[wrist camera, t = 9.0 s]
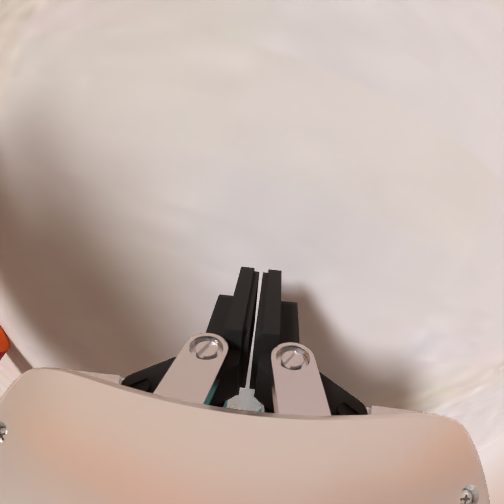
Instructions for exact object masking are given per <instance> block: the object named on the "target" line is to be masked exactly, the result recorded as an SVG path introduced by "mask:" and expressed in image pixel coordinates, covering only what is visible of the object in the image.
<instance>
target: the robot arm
mask: <svg viewBox="0 0 504 504" xmlns="http://www.w3.org/2000/svg"><path fill="white" fill-rule="evenodd" d="M258 280H259V272H255V271H254V268H249V267H241V270H240V274H239V278H238V281H237V285H236V289H235V292H234V296H228V295H219V297H218V299H217V302H216V305H215V308H214V311H213V314H212V316H211V319H210V322H209V325H208V328H207V331H206V333H200V334H197V335H194V336H192V337H191V338H189V339H188V341H187V342H186V343H185V345H184V346H183V348H182V349H181V351H180V352H179V354H178V356H176V357H174V358H171V359H169V360H167V361H164V362H162V363H159V364H157V365H154V366H151V367H149V368H146V369H144V370H141V371H139V372H136V373H133V374H131V375H129V376H127V377H126V378H121V376H120V375H113V374H103V373H95V372H87V371H79V370H68V369H61V368H47V367H41V368H34V369H30V370H28V371H26V372H24V373H23V374H21V375H20V376H19V377H18V378H17V379H16V380H15V381H14V382H13V383H12V384H11V385H10V387H9V388H8V389H7V390H6V391H5V393H4V394H3V395H2V397H1V398H0V504H490V500H489V495H488V490H487V484H486V480H485V476H484V472H483V469H482V465H481V462H480V459H479V456H478V453H477V450H476V448H475V445H474V443H473V441H472V439H471V437H470V435H469V433H468V432H467V430H466V429H465V427H464V426H463V425H462V424H461V423H459V422H458V421H456V420H454V419H451V418H448V417H445V416H440V415H436V414H428V413H422V412H420V411H416V410H406V409H397V408H389V407H382V406H375V405H372V406H371V407H370V408H368V407H365V406H364V405H363V404H362V403H361V402H360V401H359V400H358V399H356V398H355V397H353V396H352V395H350V394H349V393H348V392H346V391H345V390H343V389H342V388H341V387H339V386H338V385H337V384H335V383H334V382H332V381H331V380H330V379H328V378H327V377H326V376H324V375H323V374H322V373H320V372H319V371H318V367H317V364H316V360H315V357H314V355H313V353H312V351H311V350H310V349H309V348H307V347H306V346H304V345H302V344H299V327H298V309H297V303H295V302H284V301H281V271H278V270H269V271H268V273H264V272H263V278H262V285H261V293H260V301H259V308H258V316H257V323H256V331H255V340H254V350H253V360H252V369H251V379H250V389H255V394H254V397H255V398H256V399H257V400H258V401H259V402H261V403H262V404H263V405H262V412H255V411H246V410H238V409H230V408H226V406H227V402H228V399H230V398H232V397H234V396H235V395H239V389H240V387H242V388H245V385H246V378H247V372H248V365H249V358H250V352H251V345H252V338H253V331H254V323H255V313H256V302H257V291H258Z"/></svg>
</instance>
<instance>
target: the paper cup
mask: <svg viewBox="0 0 504 504" xmlns="http://www.w3.org/2000/svg"><path fill="white" fill-rule="evenodd" d="M9 347H10V343H9V340H8V338H7V336H6V334H5V332H4V331H3V329H2V327H1V326H0V360H1V358H2V357H3V356H4V354H5V353H6V351H7V350H8V349H9Z"/></svg>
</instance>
